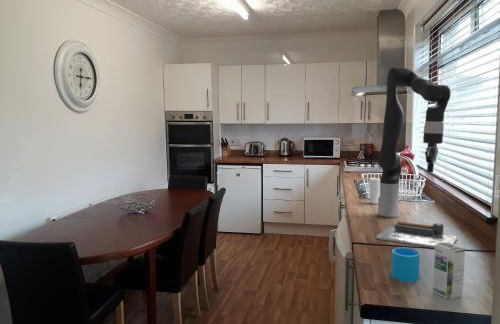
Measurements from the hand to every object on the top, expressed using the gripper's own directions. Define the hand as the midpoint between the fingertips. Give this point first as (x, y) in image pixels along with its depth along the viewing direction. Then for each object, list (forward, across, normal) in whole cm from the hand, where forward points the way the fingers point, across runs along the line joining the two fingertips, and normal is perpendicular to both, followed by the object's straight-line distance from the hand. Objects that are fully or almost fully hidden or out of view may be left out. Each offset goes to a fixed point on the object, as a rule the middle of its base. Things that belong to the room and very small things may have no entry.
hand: (430, 172), depth 167 cm
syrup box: (+26, -61, -20) cm, 70 cm away
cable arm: (+26, -5, +1) cm, 26 cm away
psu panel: (+27, -12, 0) cm, 30 cm away
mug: (+27, -54, -6) cm, 60 cm away
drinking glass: (+29, +46, +39) cm, 66 cm away
